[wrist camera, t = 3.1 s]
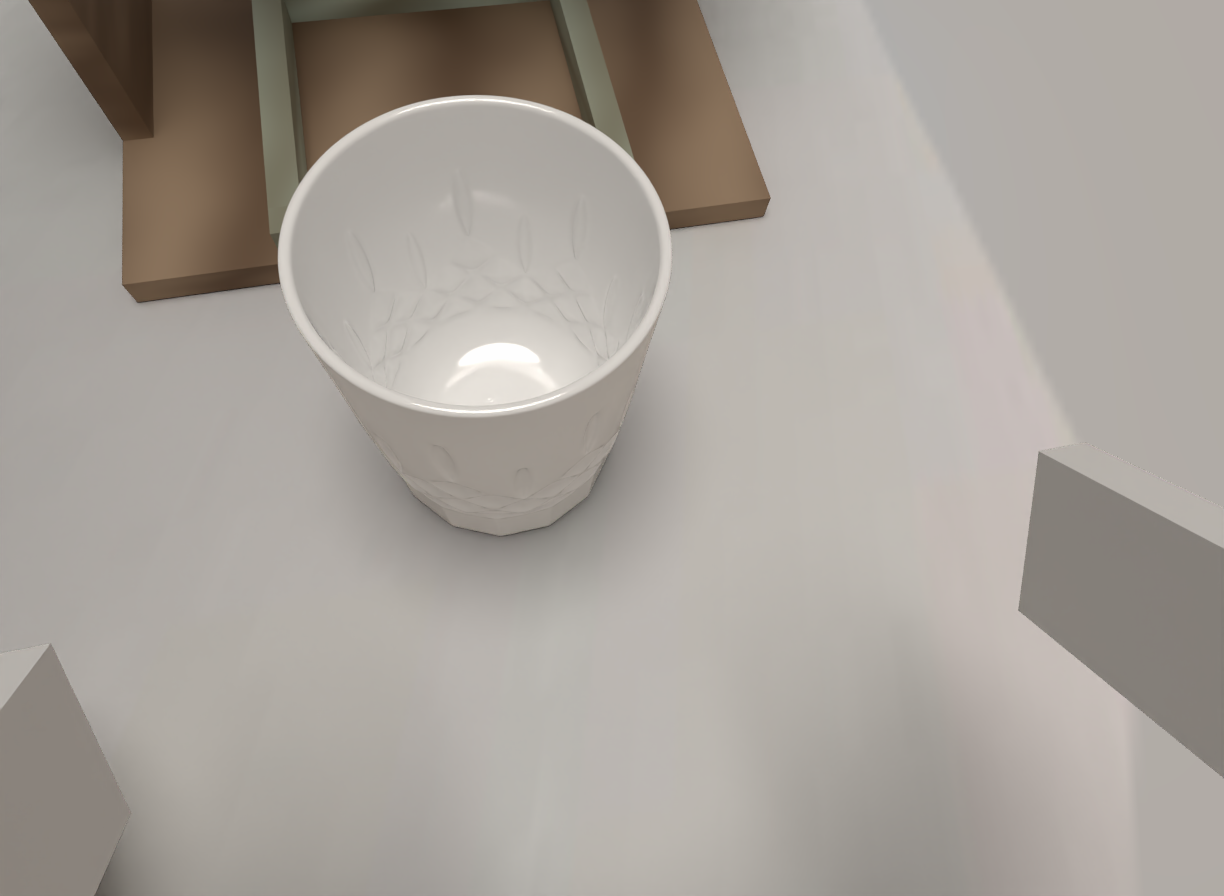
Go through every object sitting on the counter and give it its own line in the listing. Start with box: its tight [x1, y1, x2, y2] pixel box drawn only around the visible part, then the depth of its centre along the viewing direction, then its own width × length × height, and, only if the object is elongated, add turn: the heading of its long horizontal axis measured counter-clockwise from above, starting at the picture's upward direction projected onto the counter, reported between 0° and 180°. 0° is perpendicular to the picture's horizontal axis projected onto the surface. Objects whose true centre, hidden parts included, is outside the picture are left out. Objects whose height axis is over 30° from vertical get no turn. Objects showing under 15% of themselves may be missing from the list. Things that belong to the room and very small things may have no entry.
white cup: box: [278, 95, 672, 536], centre depth 20 cm, size 8×8×10 cm
